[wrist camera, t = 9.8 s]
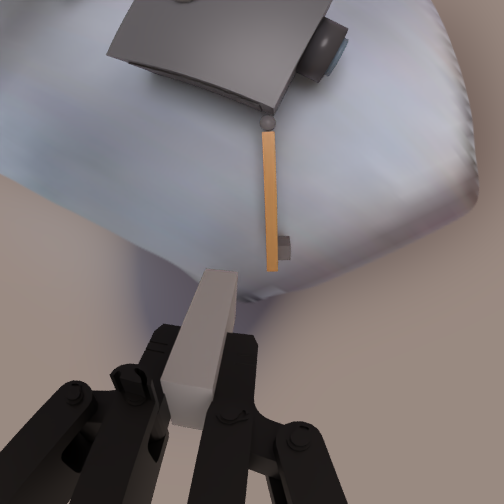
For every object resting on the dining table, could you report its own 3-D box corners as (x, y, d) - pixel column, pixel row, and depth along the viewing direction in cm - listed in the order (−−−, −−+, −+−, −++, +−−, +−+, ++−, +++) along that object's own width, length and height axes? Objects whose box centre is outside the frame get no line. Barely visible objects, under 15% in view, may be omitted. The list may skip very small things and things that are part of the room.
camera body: (151, 73, 20) (98, 55, 12) (194, -6, 17) (161, -51, 9) (296, 128, 22) (309, 126, 14) (340, 44, 18) (370, 8, 10)
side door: (262, 118, 21) (259, 115, 16) (286, 118, 21) (289, 114, 16) (267, 244, 26) (265, 273, 21) (288, 244, 25) (291, 273, 21)
